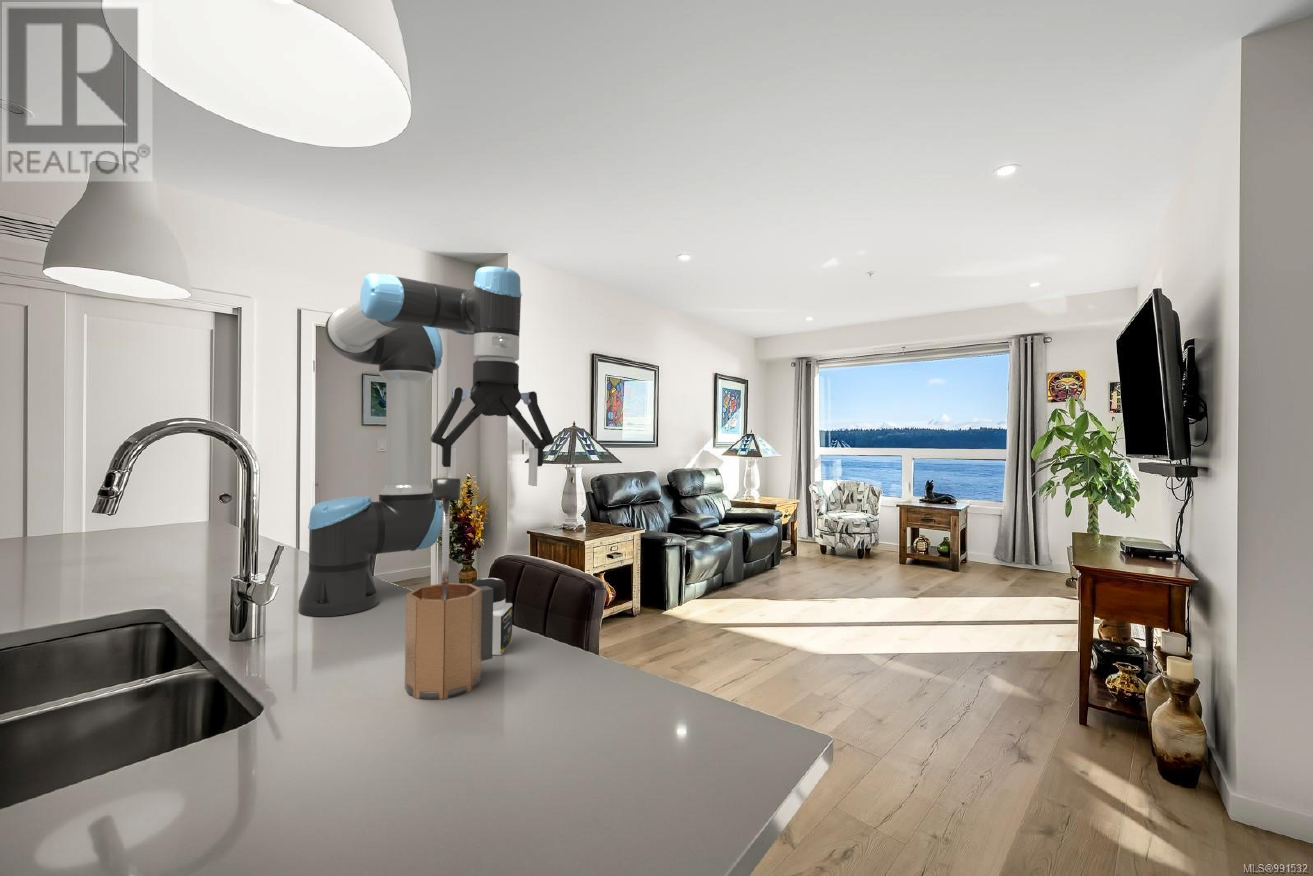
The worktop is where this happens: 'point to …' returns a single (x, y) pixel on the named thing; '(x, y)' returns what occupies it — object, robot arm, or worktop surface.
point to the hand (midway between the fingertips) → (493, 486)
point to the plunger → (445, 521)
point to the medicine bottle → (499, 614)
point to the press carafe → (447, 639)
